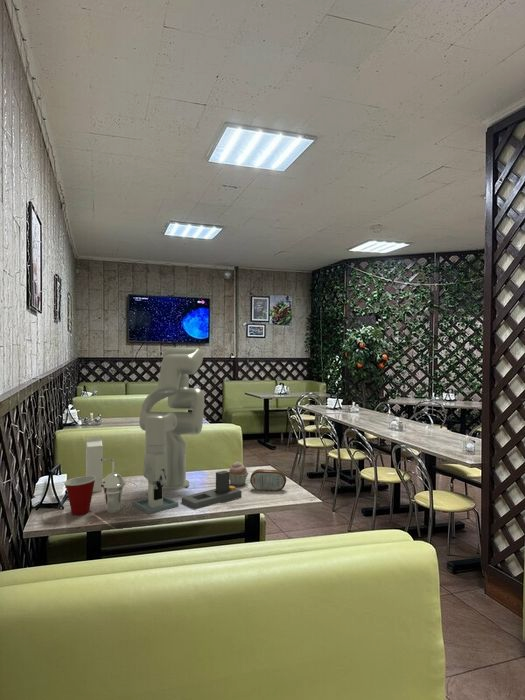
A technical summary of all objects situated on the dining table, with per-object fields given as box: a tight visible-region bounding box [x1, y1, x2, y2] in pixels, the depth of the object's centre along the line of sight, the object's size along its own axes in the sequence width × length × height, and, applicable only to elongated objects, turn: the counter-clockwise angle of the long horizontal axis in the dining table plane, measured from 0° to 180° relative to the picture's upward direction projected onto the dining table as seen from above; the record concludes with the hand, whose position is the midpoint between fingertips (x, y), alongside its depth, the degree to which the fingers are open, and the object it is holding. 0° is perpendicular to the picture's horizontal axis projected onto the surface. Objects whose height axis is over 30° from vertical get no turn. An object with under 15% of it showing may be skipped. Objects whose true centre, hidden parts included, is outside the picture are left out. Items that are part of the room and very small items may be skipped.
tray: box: [132, 495, 179, 515], centre depth 167 cm, size 12×12×2 cm
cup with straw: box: [101, 458, 127, 513], centre depth 162 cm, size 8×9×20 cm
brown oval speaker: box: [249, 468, 287, 492], centre depth 188 cm, size 15×3×8 cm, turn 84°
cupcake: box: [228, 460, 250, 487], centre depth 196 cm, size 9×9×10 cm
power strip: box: [181, 485, 242, 510], centre depth 175 cm, size 9×22×3 cm, turn 132°
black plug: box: [215, 470, 230, 494], centre depth 178 cm, size 3×4×10 cm
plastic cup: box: [63, 475, 96, 516], centre depth 161 cm, size 11×11×12 cm
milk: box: [85, 436, 104, 493], centre depth 187 cm, size 6×6×22 cm
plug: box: [147, 479, 164, 508], centre depth 167 cm, size 3×4×10 cm
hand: (155, 497), depth 167 cm, fingers closed on plug, 2 cm apart
